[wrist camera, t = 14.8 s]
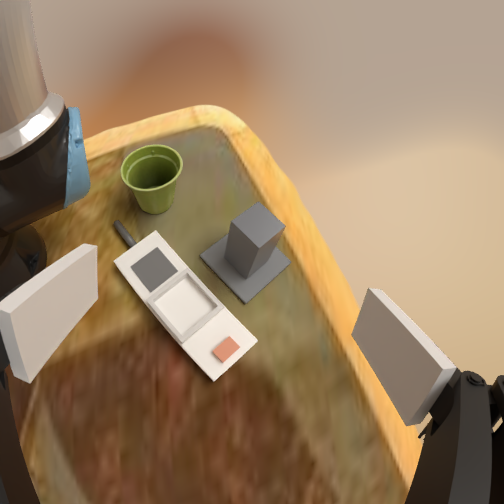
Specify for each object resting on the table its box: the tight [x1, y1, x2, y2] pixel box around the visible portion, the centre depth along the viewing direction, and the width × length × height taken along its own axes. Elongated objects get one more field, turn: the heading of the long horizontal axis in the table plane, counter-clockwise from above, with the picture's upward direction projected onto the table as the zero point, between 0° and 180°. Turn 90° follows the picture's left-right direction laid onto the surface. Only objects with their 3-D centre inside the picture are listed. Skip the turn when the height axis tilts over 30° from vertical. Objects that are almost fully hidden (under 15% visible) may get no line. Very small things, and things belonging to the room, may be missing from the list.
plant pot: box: [121, 145, 183, 214], centre depth 43 cm, size 9×9×9 cm
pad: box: [200, 233, 291, 304], centre depth 45 cm, size 10×10×1 cm
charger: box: [224, 201, 286, 280], centre depth 40 cm, size 5×5×10 cm
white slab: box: [113, 220, 258, 382], centre depth 39 cm, size 28×8×3 cm, turn 45°
